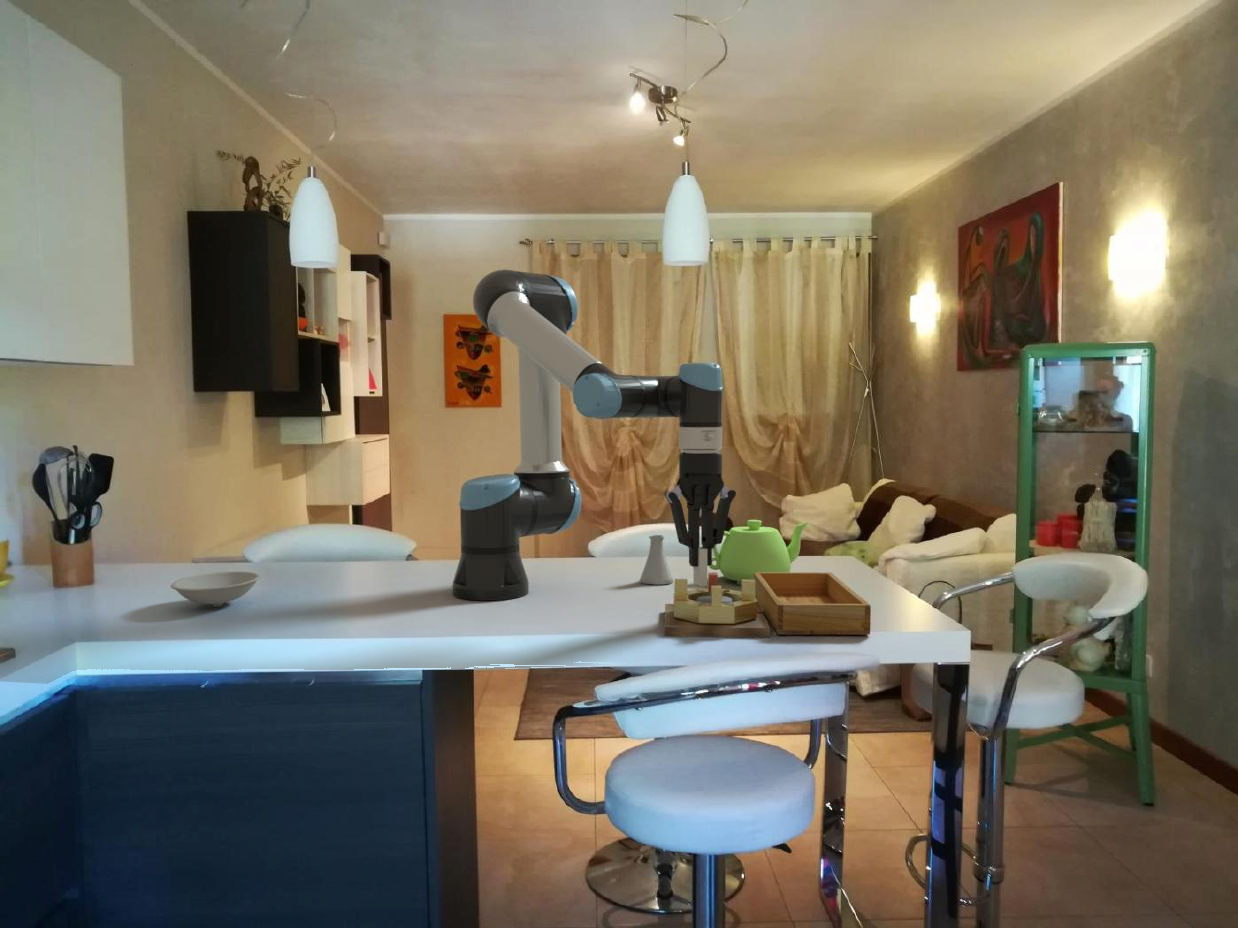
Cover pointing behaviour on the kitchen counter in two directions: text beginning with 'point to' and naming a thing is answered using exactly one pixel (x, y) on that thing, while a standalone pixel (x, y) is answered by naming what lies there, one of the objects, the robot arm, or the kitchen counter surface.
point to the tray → (811, 604)
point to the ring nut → (715, 602)
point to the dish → (216, 586)
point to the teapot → (755, 551)
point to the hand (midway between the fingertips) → (700, 584)
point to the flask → (656, 564)
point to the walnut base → (715, 624)
